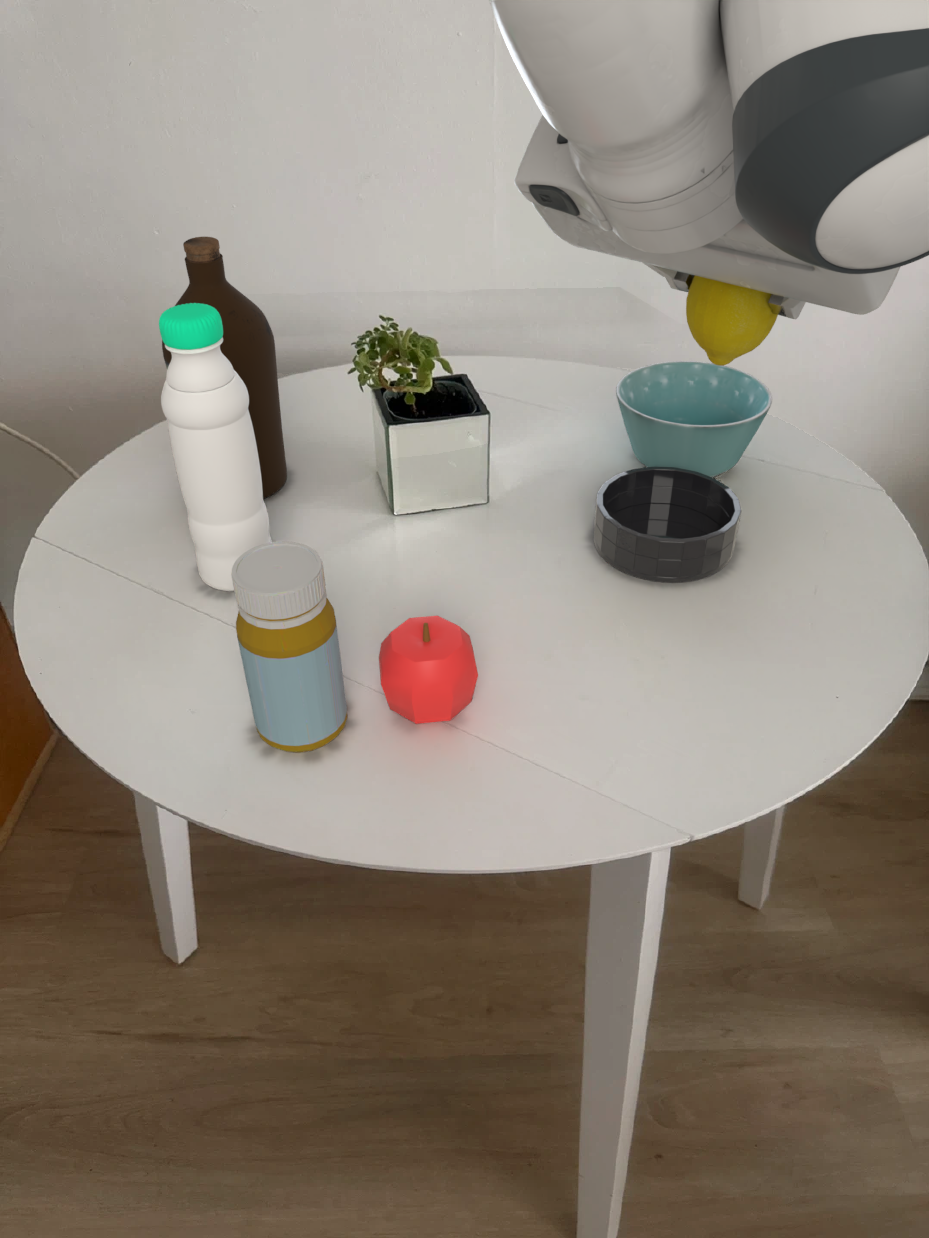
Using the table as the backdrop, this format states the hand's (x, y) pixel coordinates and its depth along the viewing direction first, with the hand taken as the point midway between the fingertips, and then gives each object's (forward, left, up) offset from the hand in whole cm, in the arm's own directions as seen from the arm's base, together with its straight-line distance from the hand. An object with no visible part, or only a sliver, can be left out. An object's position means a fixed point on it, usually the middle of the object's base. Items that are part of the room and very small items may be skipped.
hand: (738, 293), depth 61 cm
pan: (+6, -18, -31) cm, 37 cm away
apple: (+17, +11, -32) cm, 38 cm away
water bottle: (+41, +2, -32) cm, 52 cm away
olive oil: (+50, -12, -32) cm, 60 cm away
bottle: (+25, +17, -32) cm, 44 cm away
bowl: (+8, -34, -32) cm, 47 cm away
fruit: (0, +1, -5) cm, 5 cm away
